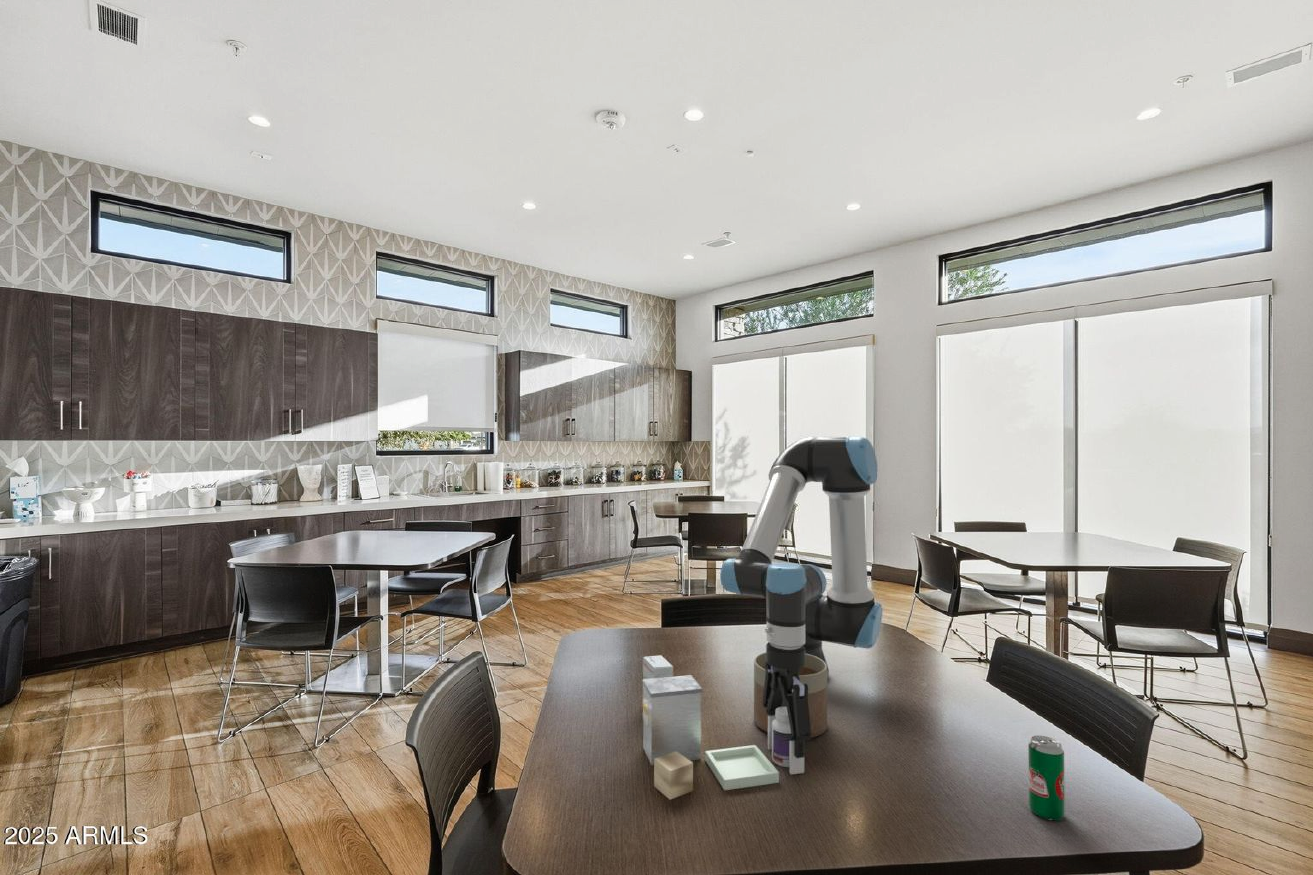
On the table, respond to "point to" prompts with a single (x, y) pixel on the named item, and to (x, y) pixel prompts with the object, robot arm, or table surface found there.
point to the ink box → (656, 668)
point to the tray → (741, 767)
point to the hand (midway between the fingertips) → (785, 759)
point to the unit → (672, 717)
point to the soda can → (1046, 777)
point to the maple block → (673, 775)
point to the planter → (817, 694)
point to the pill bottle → (781, 737)
